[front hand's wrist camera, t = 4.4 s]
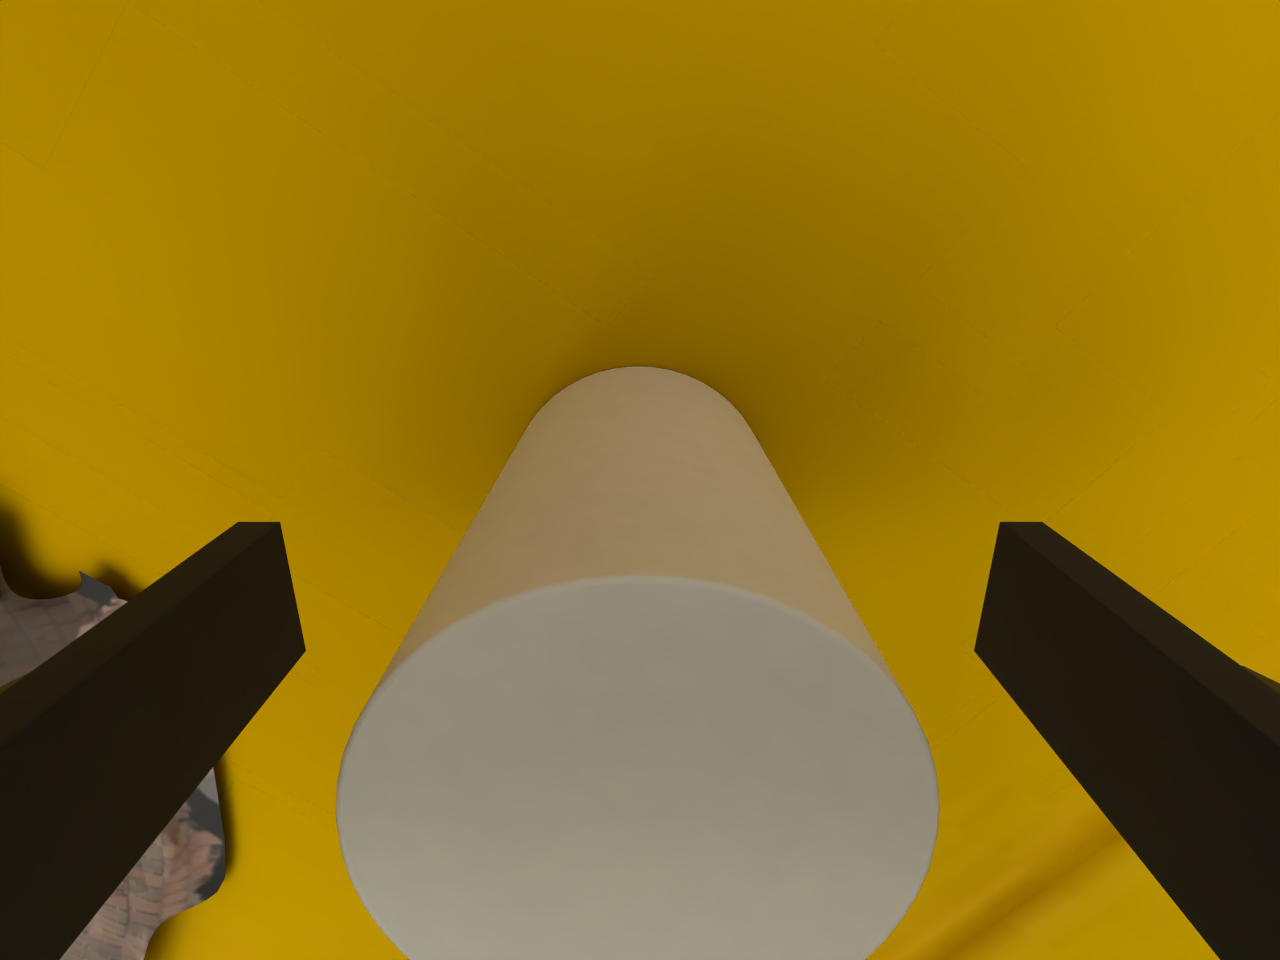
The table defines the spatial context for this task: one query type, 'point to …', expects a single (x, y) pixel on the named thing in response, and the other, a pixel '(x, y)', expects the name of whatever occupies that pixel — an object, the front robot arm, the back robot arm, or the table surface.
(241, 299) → the table surface
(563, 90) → the table surface
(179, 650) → the front robot arm
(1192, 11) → the table surface
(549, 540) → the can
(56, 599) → the sculpture
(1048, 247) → the table surface
